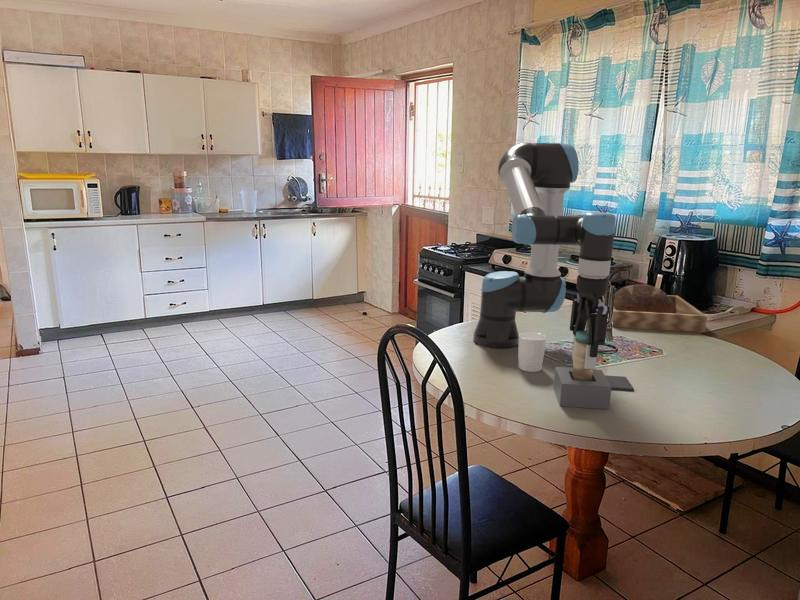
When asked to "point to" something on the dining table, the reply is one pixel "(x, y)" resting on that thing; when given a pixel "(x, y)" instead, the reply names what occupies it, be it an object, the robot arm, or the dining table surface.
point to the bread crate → (663, 318)
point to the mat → (619, 383)
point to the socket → (581, 389)
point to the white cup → (531, 351)
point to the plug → (581, 357)
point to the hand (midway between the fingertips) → (583, 363)
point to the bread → (643, 299)
